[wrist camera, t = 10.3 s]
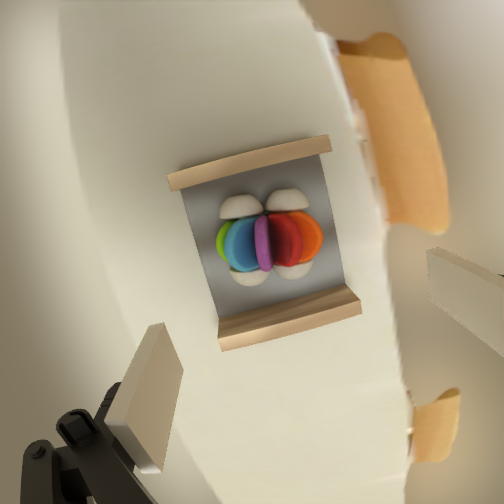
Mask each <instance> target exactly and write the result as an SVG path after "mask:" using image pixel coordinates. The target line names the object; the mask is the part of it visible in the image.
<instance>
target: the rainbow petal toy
mask: <svg viewBox="0 0 504 504" xmlns="http://www.w3.org/2000/svg"><path fill="white" fill-rule="evenodd" d="M307 207H309V202H308V200H307V198H306V196H305V195H304V194H303V193H302V192H301V191H300V190H298V189H296V188H291V189H280V190H275V191H274V192H272V193H271V195H270V196H269V197H268V199H267V202H266V206H265V209H266V210H267V211H270V212H272V214H269V216H266V215H262V216H260V214H261V213H262V212H263V207H262V205H261V203H260V202H259V201H258V200H257V199H256V198H255V197H254V196H252V195H249V194H245V195H237V196H231V197H228V198H227V199H226V200H225V201H224V202H223V204H222V206H221V208H220V213H219V217H220V218H221V219H231V218H239V219H232V220H228V221H227V222H226V223H225V224H224V225H223V226H222V227H221V229H220V230H219V232H218V234H217V237H216V248H217V252H218V253H219V255H220V256H221V257H222V258H223V259H224V260H225V261H226V262H228V263H229V264H230V265H231V267H230V268H229V272H230V274H231V276H232V278H233V279H234V280H235V281H236V282H237V283H239V284H241V285H243V286H256V285H259V284H261V283H263V282H264V281H265V280H266V279H267V278H268V276H269V274H270V271H271V269H272V268H273V270H274V271H275V272H276V274H277V275H279V276H280V277H282V278H284V279H287V280H296V279H300V278H302V277H304V276H305V275H306V274H307V273H308V272H309V271H310V269H311V267H312V264H313V257H314V256H315V255H316V254H317V253H318V252H319V250H320V248H321V246H322V243H323V233H322V229H321V227H320V226H319V224H318V223H317V221H316V220H315V219H314V218H313V217H312V216H310V215H309V214H307V213H305V212H304V211H302V210H301V209H304V208H307Z"/></svg>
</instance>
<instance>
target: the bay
mask: <svg viewBox="0 0 504 504" xmlns="http://www.w3.org/2000/svg"><path fill="white" fill-rule="evenodd" d="M330 151H332V147H331V143H330V140H329V136H328V134H327V135H322V136H316V137H311V138H307V139H302V140H297V141H292V142H288V143H283V144H279V145H275V146H270V147H266V148H262V149H258V150H254V151H250V152H246V153H242V154H238V155H234V156H230V157H226V158H223V159H219V160H215V161H212V162H208V163H205V164H201V165H198V166H194V167H191V168H187V169H184V170H181V171H177V172H174V173H171V174H168V175H167V179H168V182H169V186H170V190H171V192H173V191H176V190H179V189H180V190H181V194H182V198H183V201H184V205H185V208H186V212H187V215H188V219H189V222H190V225H191V229H192V232H193V236H194V239H195V242H196V246H197V249H198V252H199V256H200V259H201V262H202V265H203V269H204V272H205V275H206V278H207V281H208V285H209V288H210V291H211V294H212V297H213V300H214V303H215V306H216V309H217V312H218V315H219V328H218V342H219V344H220V347H221V350H222V352H224V351H228V350H232V349H237V348H241V347H245V346H249V345H253V344H257V343H261V342H265V341H269V340H273V339H277V338H281V337H284V336H288V335H292V334H295V333H299V332H303V331H306V330H310V329H313V328H317V327H320V326H323V325H327V324H330V323H333V322H337V321H340V320H343V319H346V318H350V317H353V316H356V315H359V314H362V308H361V301H360V299H359V298H358V297H357V296H356V295H355V294H354V293H353V292H352V291H351V290H350V288H349V287H348V286H347V285H346V284H345V279H344V273H343V267H342V262H341V256H340V251H339V245H338V240H337V235H336V230H335V225H334V220H333V215H332V210H331V205H330V201H329V196H328V191H327V187H326V183H325V178H324V174H323V170H322V165H321V161H320V157H319V154H321V153H326V152H330ZM291 188H296V189H298V190H300V191H301V192H302V193H303V194H304V195H305V196H306V198H307V200H308V202H309V207H307V208H304V209H301V210H302V211H304V212H305V213H307V214H309V215H310V216H312V217H313V218H314V219H315V220H316V221H317V223H318V224H319V226H320V227H321V229H322V233H323V243H322V246H321V248H320V250H319V252H318V253H317V254H316V255H315V256H314V257H313V264H312V267H311V269H310V271H309V272H308V273H307V274H306V275H305V276H304V277H302V278H300V279H296V280H287V279H284V278H282V277H280V276H279V275H277V274H276V272H275V271H274V270H273V268H272V269H271V271H270V274H269V276H268V278H267V279H266V280H265V281H264V282H263V283H261V284H259V285H256V286H243V285H241V284H239V283H237V282H236V281H235V280H234V279H233V278H232V276H231V274H230V272H229V268H230V267H231V265H230V264H229V263H228V262H226V261H225V260H224V259H223V258H222V257H221V256H220V255H219V253H218V252H217V248H216V237H217V234H218V232H219V230H220V229H221V227H222V226H223V225H224V224H225V223H226V222H227V221H228V220H232V219H239V218H231V219H221V218H220V217H219V213H220V208H221V206H222V204H223V202H224V201H225V200H226V199H227V198H228V197H231V196H237V195H245V194H249V195H252V196H254V197H255V198H256V199H257V200H258V201H259V202H260V203H261V205H262V207H263V212H262V213H261V214H260V216H262V215H266V216H269V214H272V212H270V211H267V210H266V209H265V206H266V202H267V199H268V197H269V196H270V195H271V193H272V192H274V191H275V190H280V189H291Z"/></svg>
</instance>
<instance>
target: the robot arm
mask: <svg viewBox="0 0 504 504" xmlns="http://www.w3.org/2000/svg"><path fill="white" fill-rule="evenodd" d="M426 253H427V266H428V285H429V300H430V301H431V302H432V303H434V304H435V305H436V306H438V307H440V309H442V310H443V311H445V312H446V313H447V314H449V315H450V316H451V317H452V318H454V319H455V320H457V321H458V322H459V323H460V324H462V325H463V326H465V327H466V328H467V329H468V330H470V331H471V332H472V333H473V334H475V335H476V336H477V337H478V338H480V339H481V340H482V341H484V342H485V343H486V344H487V345H489V346H490V347H491V348H492V349H494V350H495V351H496V352H497V353H499V354H500V355H501V356H502V357H503V358H504V275H499V274H496V273H494V272H492V271H490V270H488V269H486V268H483V267H481V266H479V265H477V264H475V263H473V262H471V261H468V260H466V259H464V258H462V257H460V256H457V255H455V254H453V253H451V252H448V251H446V250H444V249H442V248H439V247H436V248H433V249H430V250H427V251H426ZM182 374H183V367H182V365H181V363H180V360H179V358H178V356H177V353H176V351H175V349H174V346H173V344H172V342H171V339H170V337H169V334H168V332H167V329H166V327H165V324H164V323H160V324H155V325H150V326H149V327H148V329H147V331H146V333H145V335H144V337H143V339H142V341H141V343H140V345H139V347H138V349H137V351H136V353H135V355H134V358H133V359H132V361H131V364H130V366H129V368H128V370H127V372H126V374H125V376H124V378H123V380H122V382H117V383H115V384H114V385H113V386H112V387H111V388H110V389H109V390H108V392H107V394H106V395H105V398H104V401H103V402H102V403H101V405H100V406H101V407H99V409H98V412H97V414H96V416H95V418H94V420H93V419H92V417H91V415H90V414H89V412H87V411H86V410H84V409H75V410H72V411H69V412H67V413H66V414H64V415H63V416H62V417H61V418H60V419H59V420H58V422H57V424H56V430H57V432H58V433H59V435H60V436H61V437H62V438H63V440H64V441H65V442H66V444H67V445H68V446H65V447H60V448H56V449H55V448H54V447H53V445H52V444H51V443H50V442H49V441H48V440H44V439H43V440H37V441H35V442H33V443H31V444H30V445H29V446H28V447H27V449H26V450H25V452H24V455H23V466H22V478H21V496H20V504H94V503H93V498H92V496H93V497H94V499H95V501H96V503H97V504H158V503H157V502H156V501H155V499H154V498H153V497H152V496H151V495H150V493H149V492H148V491H147V490H146V488H145V487H144V486H143V485H142V483H141V482H140V481H139V480H138V478H137V477H136V476H135V475H134V473H133V470H134V466H135V465H136V466H137V467H138V468H139V470H140V471H141V472H142V473H143V474H151V473H162V471H163V466H164V461H165V455H166V451H167V445H168V440H169V435H170V431H171V426H172V421H173V416H174V411H175V407H176V402H177V397H178V393H179V388H180V383H181V379H182Z"/></svg>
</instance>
